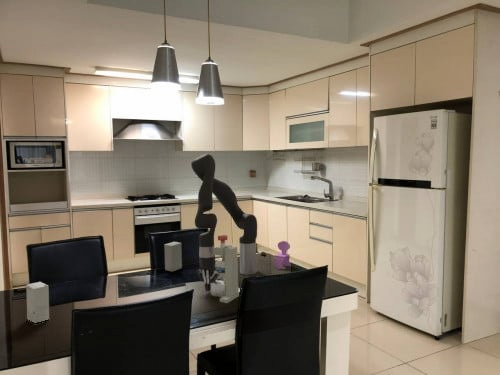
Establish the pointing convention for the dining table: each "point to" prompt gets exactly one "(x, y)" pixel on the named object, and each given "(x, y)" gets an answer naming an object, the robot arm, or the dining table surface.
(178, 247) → the skincare box
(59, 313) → the dining table surface
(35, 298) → the skincare box
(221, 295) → the housing
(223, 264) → the ram
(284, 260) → the purple upright piece
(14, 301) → the dining table surface
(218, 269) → the light bulb box
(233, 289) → the press frame
